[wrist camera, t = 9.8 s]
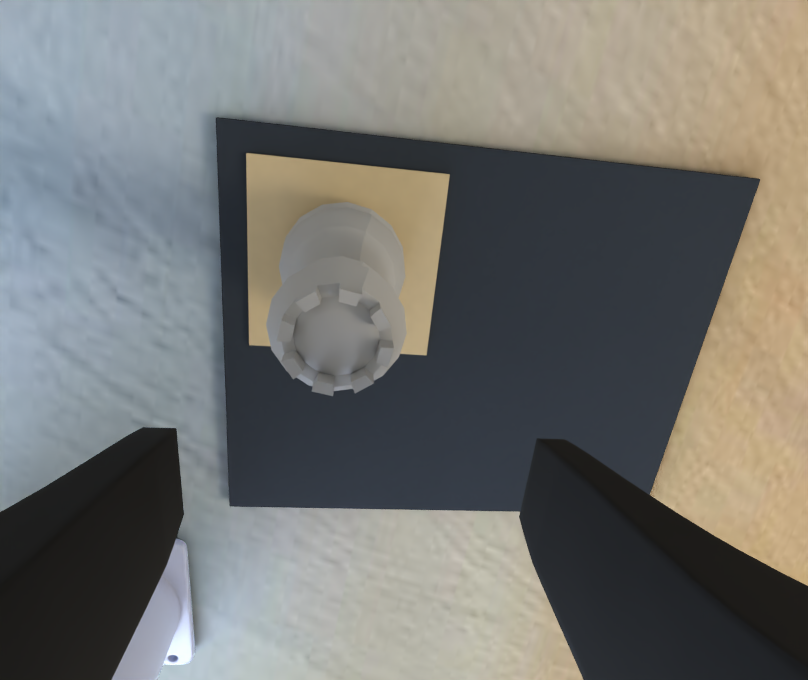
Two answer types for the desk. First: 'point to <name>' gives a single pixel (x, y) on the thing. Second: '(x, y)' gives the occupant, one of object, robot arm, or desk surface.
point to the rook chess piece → (339, 299)
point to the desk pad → (470, 315)
